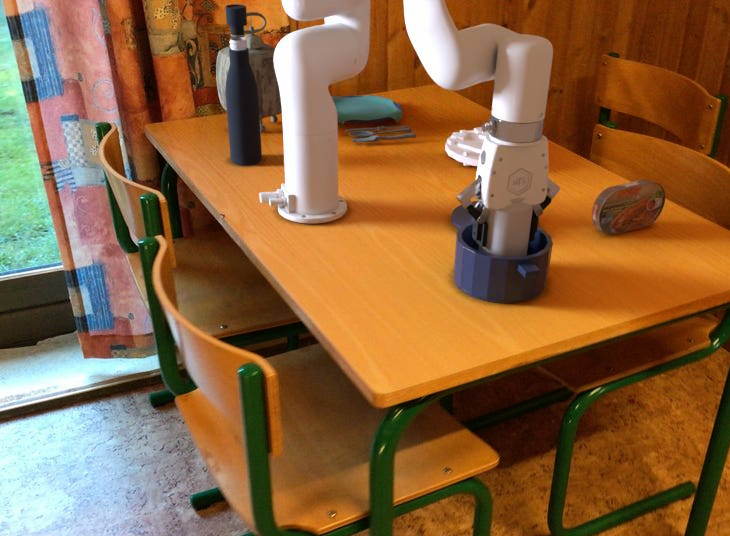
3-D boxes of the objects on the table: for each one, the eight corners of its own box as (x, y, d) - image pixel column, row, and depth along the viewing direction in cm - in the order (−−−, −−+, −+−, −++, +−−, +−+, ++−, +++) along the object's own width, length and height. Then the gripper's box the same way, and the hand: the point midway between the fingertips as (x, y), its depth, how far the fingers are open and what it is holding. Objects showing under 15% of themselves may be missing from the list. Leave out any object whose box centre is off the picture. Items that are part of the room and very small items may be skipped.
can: (523, 276, 129) (533, 202, 122) (474, 270, 130) (481, 197, 123) (526, 254, 135) (536, 183, 128) (480, 249, 136) (487, 178, 129)
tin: (596, 239, 147) (604, 194, 143) (584, 232, 150) (592, 187, 145) (661, 224, 153) (671, 180, 149) (649, 217, 156) (658, 174, 151)
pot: (482, 318, 124) (487, 273, 120) (434, 258, 140) (436, 216, 136) (570, 304, 128) (578, 260, 124) (514, 247, 144) (518, 207, 140)
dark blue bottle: (225, 162, 173) (211, 7, 157) (240, 152, 178) (229, 1, 161) (252, 167, 171) (241, 11, 155) (267, 157, 176) (259, 4, 160)
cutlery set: (389, 101, 211) (389, 91, 209) (425, 141, 187) (425, 131, 186) (311, 105, 206) (310, 96, 205) (337, 147, 182) (337, 137, 181)
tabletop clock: (278, 119, 197) (273, 5, 183) (296, 130, 191) (292, 13, 177) (220, 128, 190) (210, 11, 176) (236, 141, 184) (227, 20, 170)
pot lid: (471, 247, 144) (474, 213, 140) (438, 211, 156) (440, 179, 152) (553, 236, 148) (558, 203, 144) (514, 202, 160) (518, 171, 157)
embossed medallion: (427, 147, 184) (428, 134, 182) (501, 134, 192) (502, 121, 190) (480, 178, 170) (481, 164, 168) (557, 163, 178) (559, 149, 176)
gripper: (470, 141, 115) (461, 258, 125) (583, 131, 120) (565, 244, 130) (450, 124, 121) (442, 236, 131) (558, 115, 126) (543, 224, 135)
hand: (503, 239), depth 130 cm, fingers closed on can, 7 cm apart
